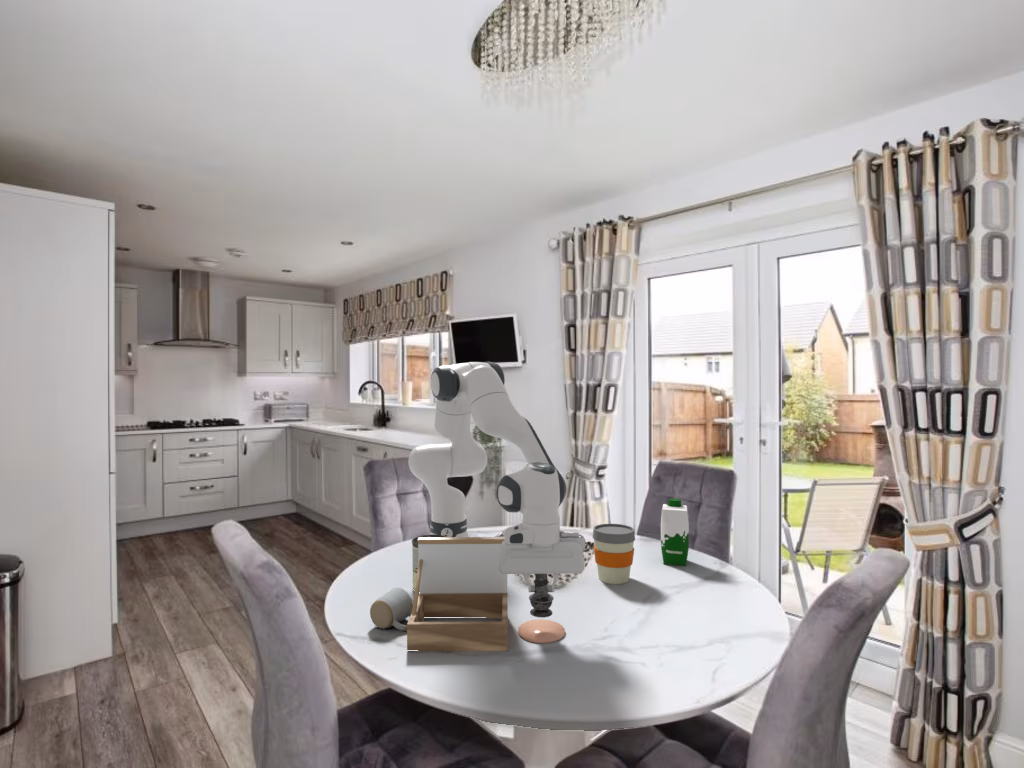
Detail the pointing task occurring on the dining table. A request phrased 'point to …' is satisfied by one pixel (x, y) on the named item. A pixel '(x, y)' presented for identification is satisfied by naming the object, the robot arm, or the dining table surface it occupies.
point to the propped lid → (459, 566)
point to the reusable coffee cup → (613, 552)
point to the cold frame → (459, 623)
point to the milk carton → (674, 532)
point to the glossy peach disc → (541, 631)
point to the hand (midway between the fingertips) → (541, 591)
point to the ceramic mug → (392, 609)
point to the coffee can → (415, 556)
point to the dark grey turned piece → (541, 597)
